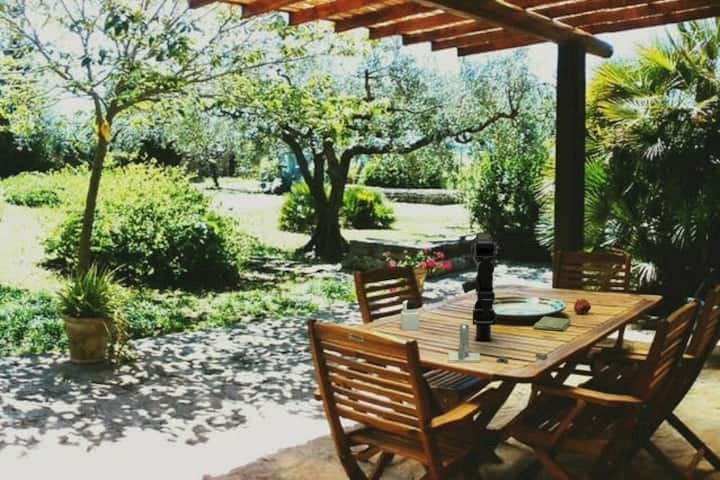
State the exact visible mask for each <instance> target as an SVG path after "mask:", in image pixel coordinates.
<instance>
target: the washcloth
mask: <svg viewBox="0 0 720 480" xmlns="http://www.w3.org/2000/svg"><path fill="white" fill-rule="evenodd" d="M570 325H571V319H570V318H569V319H568V318H561V317H553V316H543V317H542V318H541V319H540V320H539V321H537V322H536V323H535V324H534V325H533V327H532V329H534V330H541V331H558V332H565V331H566V330H567V329H568V328H569V327H570Z"/></svg>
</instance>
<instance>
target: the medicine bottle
mask: <svg viewBox="0 0 720 480" xmlns="http://www.w3.org/2000/svg"><path fill="white" fill-rule="evenodd" d="M400 327H401V329H402V331H419V330H420V313H419V311H418V302H417V301H416V300H411V299H408V300H407V299H406V300H403V301H402V310H401V311H400Z"/></svg>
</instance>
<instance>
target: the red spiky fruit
mask: <svg viewBox="0 0 720 480" xmlns="http://www.w3.org/2000/svg"><path fill="white" fill-rule="evenodd" d="M573 305H574V306H573V311H574V312H575V314H577V315H586V317H587V316H588V313H589V311H591V308H592V306H591V305H592V304H591V303H590V302H589V301H588V300H587V299H585V298H584V299H583V298H582V299H576V301H575V303H574V304H573Z"/></svg>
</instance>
